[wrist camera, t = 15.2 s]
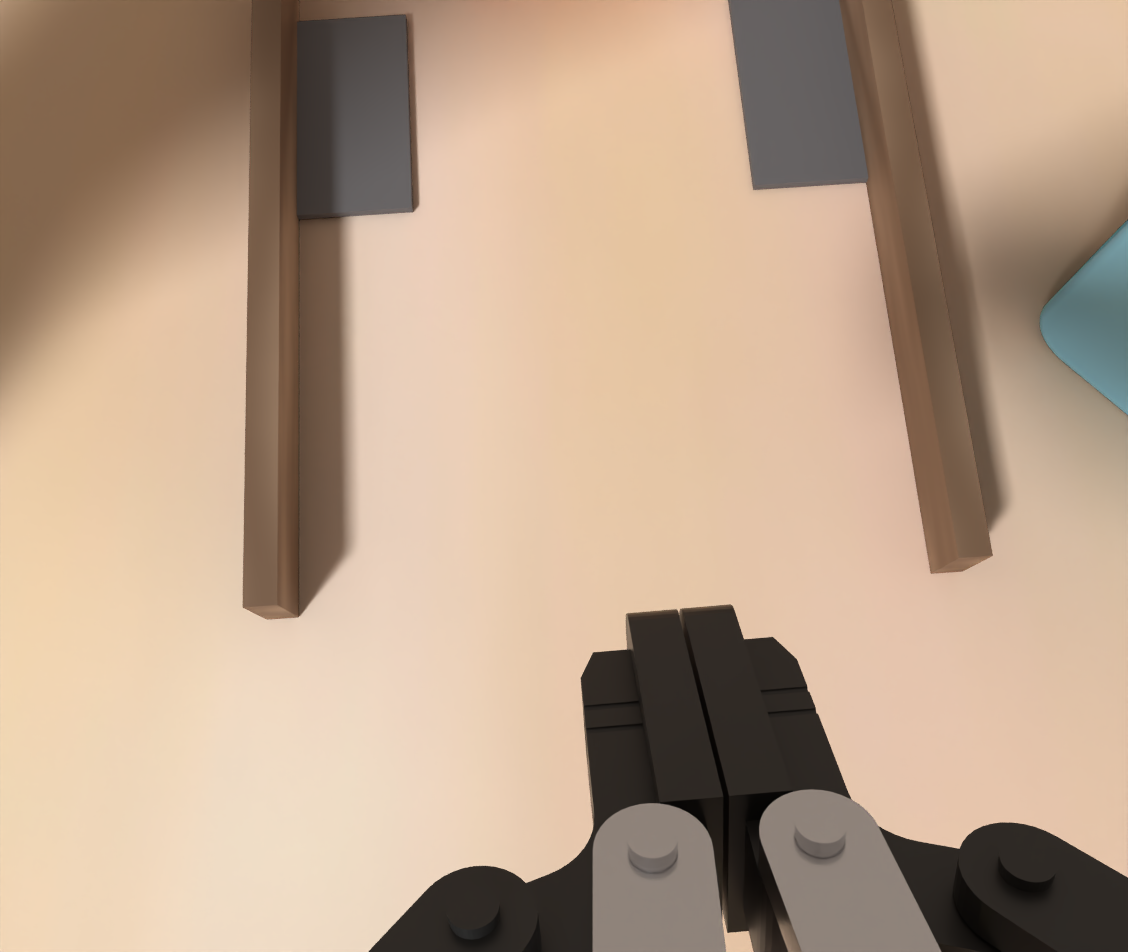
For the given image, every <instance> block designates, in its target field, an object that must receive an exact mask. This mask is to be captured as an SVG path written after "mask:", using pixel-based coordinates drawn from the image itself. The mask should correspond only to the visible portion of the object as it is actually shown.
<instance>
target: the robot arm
mask: <svg viewBox="0 0 1128 952" xmlns="http://www.w3.org/2000/svg"><path fill="white" fill-rule="evenodd" d="M626 636H627V650H617V651H606V652H594V653H593V654H592V656H591V658H590V660H589V662H588V664H587V666H586V668H585V670H584V672H583V674H582V677H581V688H582V701H583V715H584V728H585V741H586V754H587V766H588V776H589V786H590V797H591V807H592V818H593V832H592V834H591V837H590V839H589V841H588V843H587V845H586V846H585V848H584V849H583V850H582V852H581V853H580V854H579V855H578V856H577V857H576V858H575V859H574V860H572V861H571V862H570V863H569V864H567V865H566V866H564V867H563V868H561V869H559V870H557V871H555V872H553V873H551V874H549V875H546V876H543V877H541V878H538V879H536V880H533V881H531V882H528V883H525V882H524V881H523V880H522V879H521V878H519V877H518V876H516V875H515V874H513V873H511V872H509V871H507V870H505V869H501V868H497V867H490V866H473V867H468V868H463V869H460V870H457V871H454V872H452V873H450V874H448V875H446V876H444V877H442V878H441V879H439V880H438V881H436V882H435V883H434V884H433V885H432V886H430V887H429V888H428V889H427V890H426V891H425V892H424V893H423V894H422V896H421V897H420V898H419V899H418V900H417V901H416V902H415V903H414V904H413V905H412V906H411V907H410V908H409V909H408V910H407V911H406V912H405V914H404V915H403V916H402V917H401V918H400V919H399V920H398V921H397V922H396V923H395V924H394V925H393V926H392V927H391V928H390V929H389V930H388V932H387V933H386V934H385V935H384V936H383V937H382V938H381V939H380V940H379V941H378V942H377V943H376V944H375V945H374V946H373V947H372V948H371V950H370V951H369V952H726V947H725V939H724V931H723V923H722V910H723V914H724V919H725V924H726V928H727V933H730V932H741V931H749V934H750V938H751V943H752V947H753V951H754V952H1128V878H1127V877H1126V876H1124V875H1122V874H1120V873H1119V872H1117V871H1115V870H1114V869H1112V868H1110V867H1108V866H1107V865H1105V864H1103V863H1101V862H1100V861H1098V860H1096V859H1094V858H1093V857H1091V856H1089V855H1088V854H1086V853H1084V852H1082V851H1081V850H1079V849H1077V848H1075V847H1074V846H1072V845H1070V844H1069V843H1067V842H1065V841H1063V840H1062V839H1060V838H1058V837H1056V836H1054V835H1052V834H1050V833H1048V832H1046V831H1044V830H1041V829H1039V828H1036V827H1033V826H1029V825H1025V824H1018V823H995V824H989V825H986V826H983V827H980V828H978V829H976V830H974V831H973V832H972V833H971V834H969V835H968V836H967V837H966V839H965V840H964V841H963V843H962V845H961V847H960V849H957V848H951V847H946V846H940V845H935V844H929V843H923V842H918V841H914V840H910V839H906V838H903V837H900V836H897V835H894V834H892V833H890V832H888V831H886V830H884V829H882V828H881V827H879V826H878V825H877V823H876V822H875V820H874V819H873V817H872V816H871V815H870V814H869V813H868V812H867V811H866V810H865V809H864V808H863V807H862V806H860V805H859V804H858V803H856V802H854V801H853V800H852V799H851V797H850V795H849V793H848V791H847V788H846V786H845V783H844V780H843V778H842V775H841V773H840V770H839V767H838V765H837V762H836V760H835V757H834V754H833V752H832V749H831V747H830V744H829V741H828V739H827V736H826V734H825V731H824V729H823V726H822V723H821V721H820V718H819V716H818V714H816V708H815V705H814V703H813V700H812V697H811V695H810V692H808V690H807V684H806V682H805V679H804V677H803V674H802V671H801V669H800V666H799V664H798V661H797V659H796V658H795V657H794V656H793V655H792V654H791V653H789V652H788V651H787V650H786V649H785V648H784V647H783V646H782V645H781V644H780V643H779V642H778V641H777V640H776V639H774V638H773V637H768V638H756V639H745V640H744V638H743V635H742V632H741V629H740V626H739V623H738V620H737V617H736V614H735V611H734V608H733V606H732V605H720V606H708V607H696V608H684V609H680V612H679V613H678V611H677V609H675V610H663V611H651V612H639V613H627V614H626Z"/></svg>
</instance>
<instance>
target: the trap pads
mask: <svg viewBox="0 0 1128 952" xmlns="http://www.w3.org/2000/svg"><path fill="white" fill-rule="evenodd" d="M728 2H729V10H730V17H731V25H732V33H733V40H734V48H735V55H736V63H737V70H738V78H739V86H740V93H741V101H742V108H743V116H744V123H745V131H746V139H747V146H748V154H749V161H750V169H751V176H752V184H753V190H759V189H774V188H789V187H805V186H820V185H835V184H851V183H866V182H867V180H868V172H867V166H866V160H865V154H864V148H863V142H862V136H861V130H860V124H859V118H858V112H857V106H856V100H855V94H854V88H853V82H852V76H851V70H850V64H849V58H848V52H847V46H846V40H845V34H844V28H843V22H842V16H841V10H840V4H839V0H728ZM405 212H413V198H412V167H411V136H410V105H409V74H408V43H407V19H406V15H391V16H375V17H359V18H344V19H328V20H312V21H297V216H298V218H299V219H313V218H328V217H344V216H359V215H374V214H390V213H405Z"/></svg>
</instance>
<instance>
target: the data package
mask: <svg viewBox="0 0 1128 952" xmlns="http://www.w3.org/2000/svg"><path fill="white" fill-rule="evenodd" d="M1040 329H1041V333H1042V335H1043V338H1044V340H1045V342H1046V343H1047V345H1048V346H1049V348H1050V349H1051V350H1052V351H1053V353H1054V354H1055V355H1056V356H1057V357H1058V358H1059V359H1061V360H1062V361H1063V362H1064V363H1065V364H1066V365H1068V366H1069V367H1070V368H1071V369H1073V370H1074V371H1075V372H1076V373H1077V374H1079V375H1080V376H1081V377H1082V378H1083V379H1085V380H1086V381H1087V382H1088V383H1090V384H1091V385H1092V386H1093V387H1094V388H1096V389H1097V390H1098V391H1099V392H1100V393H1102V394H1103V395H1104V396H1105V397H1106V398H1108V399H1109V400H1110V401H1111V402H1113V403H1114V404H1115V405H1116V406H1117V407H1119V408H1120V409H1121V410H1122V411H1123V412H1125V413H1126V414H1127V415H1128V220H1127V221H1126V222H1125V223H1124V224H1123V225H1122V226H1121V227H1120V228H1119V229H1118V230H1117V231H1116V232H1115V233H1114V234H1113V235H1112V236H1111V237H1110V238H1109V239H1108V240H1107V241H1106V242H1105V243H1104V244H1103V245H1102V246H1101V248H1100V249H1099V250H1098V251H1097V252H1096V253H1095V254H1094V255H1093V256H1092V257H1091V258H1090V259H1089V260H1088V261H1087V262H1086V263H1085V264H1084V265H1083V266H1082V267H1081V268H1080V269H1079V270H1078V271H1077V272H1076V273H1075V275H1074V276H1073V277H1072V278H1071V279H1070V280H1069V281H1068V282H1067V283H1066V284H1065V285H1064V286H1063V287H1062V288H1061V289H1060V290H1059V291H1058V292H1057V293H1056V294H1055V295H1054V296H1053V297H1052V298H1051V299H1050V301H1049V302H1048V303H1047V304H1046V305H1045V306H1044V307H1043V309H1042V311H1041V314H1040Z"/></svg>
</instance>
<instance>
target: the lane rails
mask: <svg viewBox="0 0 1128 952" xmlns="http://www.w3.org/2000/svg"><path fill="white" fill-rule="evenodd" d="M839 4H840V10H841V16H842V22H843V28H844V34H845V40H846V46H847V52H848V58H849V64H850V70H851V76H852V82H853V88H854V94H855V100H856V106H857V112H858V118H859V124H860V130H861V136H862V142H863V148H864V154H865V160H866V166H867V172H868V180H867V182H866V184H867V190H868V196H869V202H870V209H871V215H872V221H873V227H874V233H875V239H876V245H877V251H878V257H879V263H880V269H881V275H882V281H883V287H884V293H885V299H886V305H887V311H888V317H889V323H890V329H891V335H892V341H893V348H894V354H895V360H896V366H897V372H898V378H899V384H900V390H901V396H902V402H903V408H904V414H905V420H906V426H907V432H908V438H909V444H910V450H911V456H912V462H913V468H914V474H915V480H916V487H917V493H918V499H919V505H920V511H921V517H922V523H923V529H924V535H925V541H926V547H927V553H928V559H929V565H930V571H931V574H932V573H946V572H961V571H964V570H966V569H968V568H970V567H972V566H974V565H976V564H978V563H980V562H982V561H983V560H985V559H987V558H989V557H991V556H993V554H992V549H991V543H990V538H989V532H988V527H987V521H986V516H985V511H984V505H983V500H982V494H981V489H980V483H979V478H978V472H977V467H976V461H975V456H974V450H973V445H972V439H971V434H970V428H969V423H968V417H967V412H966V406H965V401H964V396H963V390H962V385H961V379H960V374H959V368H958V363H957V357H956V352H955V346H954V341H953V335H952V330H951V324H950V319H949V313H948V308H947V302H946V297H945V291H944V286H943V281H942V275H941V270H940V264H939V259H938V253H937V248H936V242H935V237H934V231H933V226H932V220H931V215H930V209H929V204H928V198H927V193H926V187H925V182H924V176H923V171H922V166H921V160H920V155H919V149H918V144H917V138H916V133H915V127H914V122H913V116H912V111H911V105H910V100H909V94H908V89H907V83H906V78H905V72H904V67H903V61H902V56H901V51H900V45H899V40H898V34H897V29H896V23H895V18H894V12H893V7H892V1H891V0H839ZM297 21H299V0H252V39H251V104H250V168H249V233H248V298H247V362H246V427H245V492H244V556H243V608H245V609H247V610H249V611H251V612H253V613H255V614H257V615H259V616H261V617H263V618H265V619H280V618H295V617H299V218H298V216H297Z"/></svg>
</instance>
